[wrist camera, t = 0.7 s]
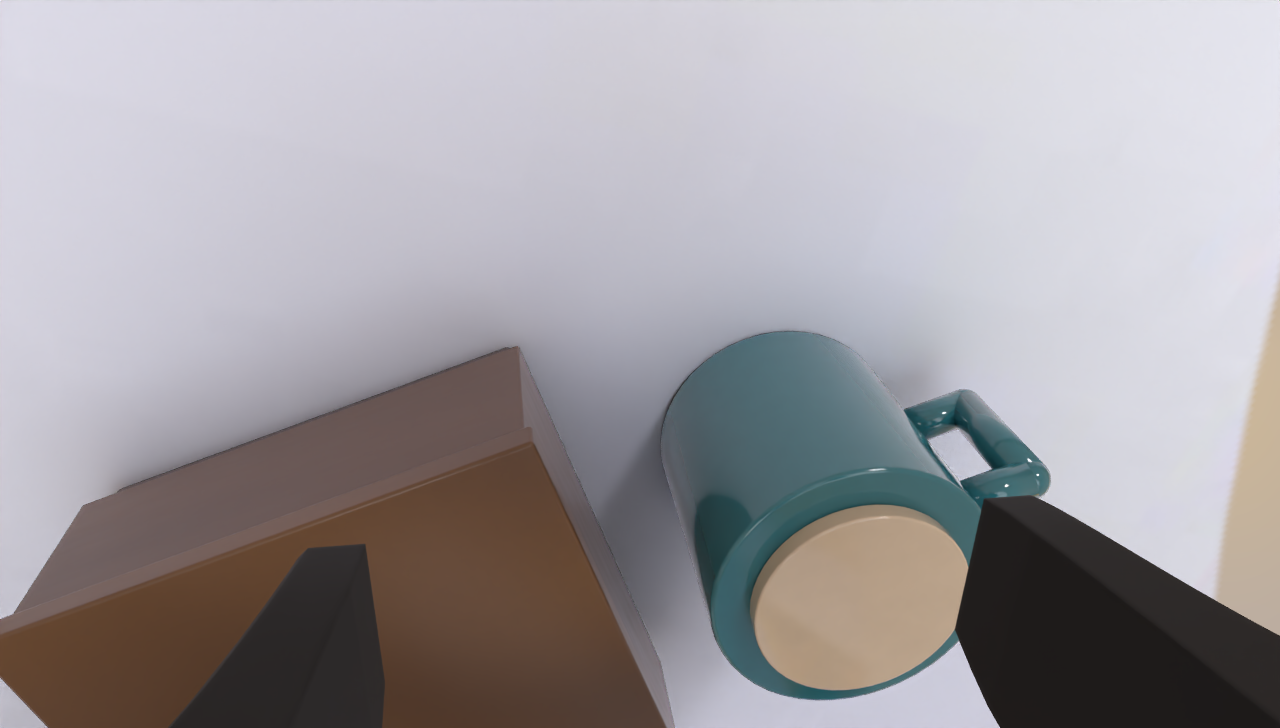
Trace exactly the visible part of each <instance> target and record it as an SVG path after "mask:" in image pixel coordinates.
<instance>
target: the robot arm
mask: <svg viewBox="0 0 1280 728" xmlns="http://www.w3.org/2000/svg"><path fill="white" fill-rule="evenodd" d="M955 631H956V634H957V636H958V639H959V641H960V644H961V646H962V648H963V651H964V653H965V656H966V658H967V660H968V663H969V665H970V668H971V670H972V672H973V675H974V677H975V679H976V681H977V683H978V686H979V688H980V690H981V692H982V694H983V697H984V699H985V701H986V703H987V705H988V707H989V709H990V711H991V713H992V714H993V716H994V718H995V720H996V721H997V723H998V725H999V727H1000V728H1280V636H1279V635H1277V634H1275V633H1273V632H1271V631H1270V630H1268V629H1266V628H1264V627H1262V626H1260V625H1258V624H1256V623H1254V622H1253V621H1251V620H1249V619H1247V618H1246V617H1244V616H1242V615H1240V614H1238V613H1237V612H1235V611H1233V610H1231V609H1229V608H1228V607H1226V606H1224V605H1222V604H1221V603H1219V602H1217V601H1215V600H1214V599H1212V598H1210V597H1208V596H1207V595H1205V594H1203V593H1201V592H1200V591H1198V590H1196V589H1194V588H1193V587H1191V586H1189V585H1188V584H1186V583H1184V582H1182V581H1181V580H1179V579H1177V578H1176V577H1174V576H1172V575H1170V574H1169V573H1167V572H1165V571H1164V570H1162V569H1160V568H1159V567H1157V566H1155V565H1154V564H1152V563H1150V562H1149V561H1147V560H1145V559H1143V558H1142V557H1140V556H1138V555H1137V554H1135V553H1133V552H1132V551H1130V550H1128V549H1127V548H1125V547H1123V546H1122V545H1120V544H1118V543H1117V542H1115V541H1113V540H1112V539H1110V538H1108V537H1106V536H1105V535H1103V534H1101V533H1100V532H1098V531H1096V530H1095V529H1093V528H1091V527H1089V526H1088V525H1086V524H1084V523H1083V522H1081V521H1079V520H1077V519H1076V518H1074V517H1072V516H1070V515H1069V514H1067V513H1065V512H1063V511H1061V510H1060V509H1058V508H1056V507H1054V506H1052V505H1050V504H1048V503H1046V502H1045V501H1043V500H1041V499H1039V498H1037V497H1035V496H1032V495H1025V496H1011V497H998V498H984V500H983V505H982V509H981V514H980V518H979V523H978V527H977V532H976V536H975V541H974V545H973V550H972V554H971V559H970V563H969V567H968V572H967V576H966V581H965V585H964V590H963V594H962V599H961V603H960V608H959V612H958V617H957V621H956V626H955ZM384 692H385V678H384V671H383V664H382V657H381V650H380V643H379V636H378V629H377V622H376V615H375V608H374V601H373V594H372V587H371V580H370V573H369V566H368V559H367V552H366V545H365V544H356V545H342V546H329V547H315V548H307V549H306V550H305V551H304V552H303V553H302V554H301V555H300V556H299V557H298V559H297V560H296V562H295V563H294V565H293V566H292V567H291V569H290V570H289V572H288V573H287V575H286V576H285V578H284V579H283V580H282V582H281V583H280V585H279V586H278V588H277V589H276V590H275V592H274V593H273V595H272V596H271V597H270V599H269V600H268V602H267V603H266V604H265V606H264V607H263V608H262V610H261V611H260V613H259V614H258V615H257V617H256V618H255V619H254V621H253V622H252V623H251V625H250V626H249V627H248V629H247V630H246V631H245V633H244V634H243V635H242V637H241V638H240V639H239V641H238V642H237V643H236V645H235V646H234V647H233V648H232V650H231V651H230V652H229V654H228V655H227V656H226V657H225V659H224V660H223V661H222V662H221V664H220V665H219V666H218V667H217V669H216V670H215V671H214V673H213V674H212V675H211V676H210V678H209V679H208V680H207V681H206V683H205V684H204V685H203V687H202V688H201V689H200V690H199V692H198V693H197V694H196V695H195V696H194V698H193V699H192V700H191V701H190V702H189V704H188V705H187V706H186V707H185V708H184V710H183V711H182V712H181V713H180V714H179V715H178V716H177V718H176V719H175V720H174V721H173V722H172V723H171V725H170V726H169V727H168V728H382V723H383V707H384Z"/></svg>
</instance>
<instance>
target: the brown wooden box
mask: <svg viewBox="0 0 1280 728" xmlns="http://www.w3.org/2000/svg"><path fill="white" fill-rule="evenodd" d="M356 544H365V545H366V552H367V559H368V566H369V573H370V580H371V587H372V594H373V601H374V608H375V615H376V622H377V629H378V636H379V643H380V650H381V657H382V664H383V671H384V678H385V692H384V707H383V723H382V728H675V725H674V721H673V716H672V712H671V707H670V703H669V698H668V694H667V689H666V685H665V680H664V676H663V671H662V667H661V662H660V660H659V658H658V655H657V653H656V651H655V649H654V646H653V644H652V642H651V640H650V637H649V635H648V633H647V631H646V629H645V626H644V624H643V622H642V620H641V617H640V615H639V613H638V611H637V609H636V606H635V604H634V602H633V600H632V597H631V595H630V593H629V591H628V589H627V586H626V584H625V582H624V580H623V577H622V575H621V573H620V571H619V569H618V566H617V564H616V562H615V560H614V557H613V555H612V553H611V551H610V549H609V546H608V544H607V542H606V540H605V537H604V535H603V533H602V531H601V529H600V526H599V524H598V522H597V520H596V517H595V515H594V513H593V511H592V508H591V506H590V504H589V502H588V500H587V497H586V495H585V493H584V491H583V488H582V486H581V484H580V482H579V480H578V477H577V475H576V473H575V471H574V468H573V466H572V464H571V462H570V460H569V457H568V455H567V453H566V451H565V448H564V446H563V444H562V442H561V440H560V437H559V435H558V433H557V431H556V428H555V426H554V424H553V422H552V420H551V417H550V415H549V413H548V411H547V408H546V406H545V404H544V402H543V399H542V397H541V395H540V393H539V391H538V388H537V386H536V384H535V382H534V379H533V377H532V375H531V373H530V371H529V368H528V366H527V364H526V362H525V359H524V357H523V355H522V353H521V351H520V348H519V347H518V346H516V347H513V348H510V349H509V348H508V347H507V348H503V349H501V350H498V351H495V352H492V353H490V354H487V355H484V356H482V357H479V358H476V359H473V360H471V361H468V362H465V363H463V364H460V365H457V366H454V367H452V368H449V369H446V370H443V371H441V372H438V373H435V374H433V375H430V376H427V377H424V378H422V379H419V380H416V381H414V382H411V383H408V384H405V385H403V386H400V387H397V388H394V389H392V390H389V391H386V392H384V393H381V394H378V395H375V396H373V397H370V398H367V399H365V400H362V401H359V402H356V403H354V404H351V405H348V406H345V407H343V408H340V409H337V410H335V411H332V412H329V413H326V414H324V415H321V416H318V417H316V418H313V419H310V420H307V421H305V422H302V423H299V424H297V425H294V426H291V427H288V428H286V429H283V430H280V431H277V432H275V433H272V434H269V435H267V436H264V437H261V438H258V439H256V440H253V441H250V442H248V443H245V444H242V445H239V446H237V447H234V448H231V449H228V450H226V451H223V452H220V453H218V454H215V455H212V456H209V457H207V458H204V459H201V460H199V461H196V462H193V463H190V464H188V465H185V466H182V467H179V468H177V469H174V470H171V471H169V472H166V473H163V474H160V475H158V476H155V477H152V478H150V479H147V480H144V481H141V482H139V483H136V484H133V485H130V486H128V487H125V488H122V489H120V490H119V491H118V492H117V493H116V494H113V495H110V496H107V497H105V498H102V499H99V500H96V501H94V502H91V503H88V504H86V505H83V506H82V508H81V509H80V511H79V513H78V514H77V516H76V517H75V519H74V520H73V522H72V523H71V525H70V527H69V528H68V530H67V531H66V533H65V534H64V536H63V537H62V539H61V541H60V542H59V544H58V545H57V547H56V548H55V550H54V551H53V553H52V555H51V556H50V558H49V559H48V561H47V562H46V564H45V565H44V567H43V569H42V570H41V572H40V573H39V575H38V576H37V578H36V579H35V581H34V583H33V584H32V586H31V587H30V589H29V590H28V592H27V593H26V595H25V597H24V598H23V600H22V601H21V603H20V604H19V606H18V607H17V609H16V611H15V612H14V614H13V615H10V616H7V617H5V618H2V619H0V678H1V679H2V680H3V681H4V682H5V683H6V684H7V685H8V686H9V687H10V688H11V689H12V690H13V692H14V693H15V694H16V695H17V696H18V697H19V698H20V699H21V700H22V701H23V702H24V703H25V704H26V705H27V706H28V707H29V708H30V709H31V710H32V711H33V712H34V713H35V715H36V716H37V717H38V718H39V719H40V720H41V721H42V722H43V723H44V724H45V725H46V726H47V727H48V728H168V727H169V726H170V725H171V723H172V722H173V721H174V720H175V719H176V718H177V716H178V715H179V714H180V713H181V712H182V711H183V710H184V708H185V707H186V706H187V705H188V704H189V702H190V701H191V700H192V699H193V698H194V696H195V695H196V694H197V693H198V692H199V690H200V689H201V688H202V687H203V685H204V684H205V683H206V681H207V680H208V679H209V678H210V676H211V675H212V674H213V673H214V671H215V670H216V669H217V667H218V666H219V665H220V664H221V662H222V661H223V660H224V659H225V657H226V656H227V655H228V654H229V652H230V651H231V650H232V648H233V647H234V646H235V645H236V643H237V642H238V641H239V639H240V638H241V637H242V635H243V634H244V633H245V631H246V630H247V629H248V627H249V626H250V625H251V623H252V622H253V621H254V619H255V618H256V617H257V615H258V614H259V613H260V611H261V610H262V608H263V607H264V606H265V604H266V603H267V602H268V600H269V599H270V597H271V596H272V595H273V593H274V592H275V590H276V589H277V588H278V586H279V585H280V583H281V582H282V580H283V579H284V578H285V576H286V575H287V573H288V572H289V570H290V569H291V567H292V566H293V565H294V563H295V562H296V560H297V559H298V557H299V556H300V555H301V554H302V553H303V552H304V551H305V550H306V549H307V548H315V547H329V546H342V545H356Z"/></svg>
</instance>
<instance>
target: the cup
mask: <svg viewBox="0 0 1280 728" xmlns="http://www.w3.org/2000/svg"><path fill="white" fill-rule="evenodd" d="M957 429H958V430H959V431H960V432H961V433H962V434H963V436H964V437H965V438H966V439H967V440H968V441H969V443H970V444H971V445H972V446H973V447H974V448H975V450H976V451H977V452H978V453H979V454H980V455H981V457H982V458H983V459H984V460H985V461H986V462H987V464H988V465H989V466H990V467H991V468H992V470H989V471H986V472H984V473H981V474H978V475H975V476H972V477H970V478H967V479H964V480H961V481H959V480H958V478H957V477H956V476H955V475H954V473H953V472H952V471H951V470H950V468H949V467H948V466H947V464H946V463H945V462H944V461H943V459H942V458H941V457H940V456H939V454H938V453H937V452H936V450H935V449H934V448H933V447H932V445H931V444H930V443H929V442H928V440H929V439H932V438H935V437H937V436H940V435H943V434H946V433H949V432H951V431H954V430H957ZM661 458H662V464H663V468H664V471H665V474H666V477H667V481H668V484H669V487H670V491H671V494H672V497H673V501H674V504H675V507H676V511H677V514H678V517H679V521H680V524H681V527H682V530H683V534H684V537H685V540H686V544H687V547H688V550H689V554H690V557H691V560H692V564H693V567H694V570H695V574H696V577H697V580H698V584H699V587H700V590H701V593H702V597H703V600H704V603H705V607H706V610H707V613H708V617H709V620H710V623H711V627H712V630H713V633H714V637H715V640H716V642H717V644H718V646H719V648H720V650H721V652H722V653H723V655H724V656H725V657H726V659H727V660H728V661H729V663H730V664H731V665H732V666H733V667H734V668H735V669H736V670H737V671H738V672H739V673H741V674H742V675H743V676H744V677H746V678H747V679H748V680H750V681H751V682H753V683H754V684H756V685H758V686H760V687H762V688H764V689H766V690H768V691H771V692H774V693H777V694H780V695H783V696H788V697H793V698H798V699H807V700H837V699H846V698H852V697H857V696H862V695H866V694H870V693H873V692H876V691H880V690H883V689H885V688H888V687H890V686H893V685H895V684H898V683H900V682H902V681H904V680H906V679H908V678H910V677H912V676H914V675H916V674H917V673H919V672H921V671H922V670H924V669H925V668H927V667H929V666H930V665H932V664H933V663H934V662H935V661H937V660H938V659H939V658H941V657H942V656H943V655H945V654H946V653H947V652H948V651H949V650H950V649H951V648H952V647H953V646H954V645H955V644H956V643H957V642H958V641H959V639H958V636H957V634H956V631H955V626H956V621H957V617H958V612H959V608H960V603H961V599H962V594H963V590H964V585H965V581H966V576H967V572H968V567H969V563H970V559H971V554H972V550H973V545H974V541H975V536H976V532H977V527H978V523H979V518H980V514H981V509H982V505H983V500H984V498H998V497H1011V496H1025V495H1032V496H1035V497H1037V498H1040V497H1042V496H1043V495H1044V494H1045V493H1046V492H1047V491H1048V489H1049V487H1050V484H1051V475H1050V472H1049V470H1048V468H1047V467H1046V466H1045V465H1044V464H1043V463H1042V462H1041V461H1040V460H1039V459H1038V458H1037V457H1036V455H1035V454H1034V453H1033V452H1032V451H1031V450H1030V449H1029V448H1028V447H1027V446H1026V445H1025V444H1024V443H1023V442H1022V441H1021V440H1020V439H1019V438H1018V437H1017V436H1016V434H1015V433H1014V432H1013V431H1012V430H1011V429H1010V428H1009V427H1008V426H1007V425H1006V424H1005V423H1004V422H1003V421H1002V420H1001V419H1000V418H999V417H998V416H997V415H996V413H995V412H994V411H993V410H992V409H991V408H990V407H989V406H988V405H987V404H986V403H985V402H984V401H983V400H982V399H981V398H980V397H979V396H978V395H977V394H976V393H975V392H973V391H971V390H968V389H959V390H956V391H953V392H951V393H948V394H945V395H942V396H939V397H937V398H934V399H931V400H928V401H926V402H923V403H920V404H917V405H915V406H912V407H909V408H906V409H904V410H903V409H902V407H901V406H900V405H899V403H898V402H897V401H896V400H895V398H894V397H893V396H892V395H891V393H890V392H889V391H888V389H887V388H886V387H885V386H884V384H883V383H882V382H881V381H880V379H879V378H878V377H877V375H876V374H875V373H874V372H873V370H872V369H871V368H870V367H869V365H868V364H867V363H866V362H865V361H864V360H863V359H862V358H861V357H860V356H859V355H858V354H857V353H856V352H854V351H853V350H851V349H850V348H849V347H847V346H845V345H843V344H842V343H840V342H838V341H836V340H833V339H830V338H828V337H825V336H822V335H817V334H812V333H807V332H795V331H784V332H772V333H767V334H761V335H757V336H754V337H750V338H747V339H744V340H742V341H739V342H737V343H735V344H732V345H730V346H728V347H726V348H725V349H723V350H721V351H719V352H718V353H716V354H715V355H713V356H712V357H710V358H709V359H708V360H706V361H705V362H704V363H702V364H701V365H700V366H699V367H698V368H697V369H696V370H695V371H694V372H693V373H692V374H691V375H690V376H689V377H688V379H687V380H686V381H685V382H684V383H683V385H682V386H681V387H680V389H679V391H678V392H677V394H676V395H675V397H674V398H673V401H672V403H671V405H670V407H669V409H668V411H667V414H666V417H665V420H664V423H663V428H662V434H661Z"/></svg>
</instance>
